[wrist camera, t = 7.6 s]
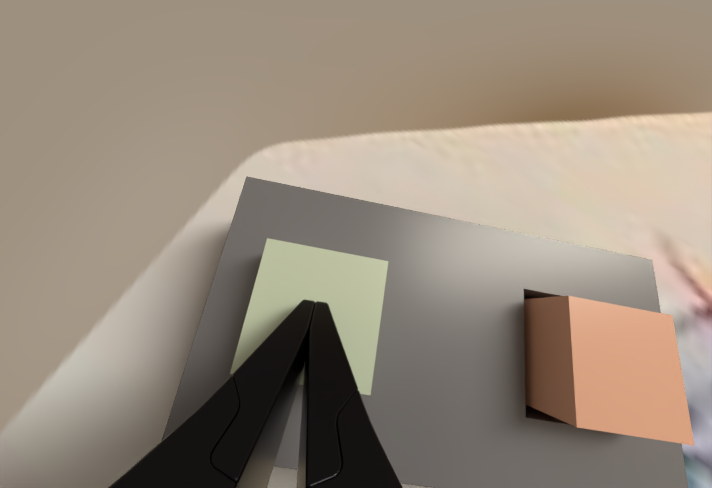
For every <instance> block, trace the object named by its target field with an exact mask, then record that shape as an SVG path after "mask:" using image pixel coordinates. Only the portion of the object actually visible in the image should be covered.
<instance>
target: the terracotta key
mask: <svg viewBox="0 0 712 488" xmlns="http://www.w3.org/2000/svg"><path fill="white" fill-rule="evenodd" d="M524 341H525V404H526V405H528V406H530V407H532V408H535V409H537V410H539V411H541V412H544V413H546V414H548V415H550V416H553V417H555V418H557V419H559V420H562V421H564V422H566V423H568V424H571V425H573V426H575V427H578V428H584V429H591V430H597V431H604V432H610V433H617V434H623V435H630V436H636V437H643V438H649V439H655V440H662V441H668V442H675V443H681V444H688V445H694V441H693V435H692V429H691V423H690V417H689V411H688V405H687V400H686V394H685V388H684V382H683V376H682V370H681V364H680V358H679V352H678V347H677V341H676V335H675V329H674V323H673V317H672V315H667V314H662V313H657V312H652V311H646V310H641V309H636V308H631V307H626V306H620V305H615V304H610V303H605V302H599V301H594V300H589V299H584V298H578V297H573V296H558V297H545V298H532V299H524Z"/></svg>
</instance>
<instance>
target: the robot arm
mask: <svg viewBox="0 0 712 488" xmlns="http://www.w3.org/2000/svg"><path fill="white" fill-rule="evenodd" d="M304 365H305V369H304ZM303 369H304V381H303V396H302V412H301V427H300V443H299V458H298V474H297V488H402V486H401V483H400V481H399V479H398V477H397V475H396V473H395V471H394V469H393V467H392V465H391V463H390V461H389V459H388V457H387V455H386V453H385V451H384V449H383V447H382V445H381V443H380V441H379V438H378V436H377V434H376V432H375V430H374V428H373V425H372V423H371V421H370V418H369V416H368V413H367V411H366V408H365V405H364V403H363V400H362V397H361V394H360V392H359V390H358V386H357V384H356V381H355V378H354V375H353V372H352V370H351V367H350V364H349V361H348V358H347V355H346V353H345V350H344V347H343V344H342V341H341V339H340V336H339V333H338V330H337V327H336V325H335V322H334V319H333V316H332V313H331V310H330V308H329V305H328V303H326V302H320V301H317V302H315V301H313V300H306V299H304V300H302V301H301V302H300V303H299V304H298V305H297V306H296V307H295V308H294V310H293V311H292V312H291V313H290V314H289V315H288V316H287V317H286V318H285V319H284V320H283V321H282V322H281V323H280V324H279V325H278V326H277V328H276V329H275V330H274V331H273V332H272V333H271V334H270V335H269V336H268V337H267V338H266V339H265V340H264V341H263V342H262V343H261V344H260V346H259V347H258V348H257V349H256V350H255V351H254V352H253V353H252V354H251V355H250V356H249V357H248V358H247V359H246V360H245V361H244V362H243V364H242V365H241V366H240V367H239V368H238V369H237V370H236V371H235V372H234V373H233V376H230V377H229V378H228V379H227V380H226V381H225V382H224V383H223V385H222V386H221V387H220V388H219V389H218V390H217V391H216V392H215V393H214V394H213V395H212V396H211V397H210V398H209V399H208V400H207V401H206V402H205V403H204V404H203V405H202V406H201V407H199V408H198V409H197V410H196V411H195V412H194V413H193V414H192V415H191V416H190V417H189V418H187V419H186V420H185V421H184V422H183V423H182V424H181V425H180V426H179V427H177V428H176V429H175V430H174V431H173V432H172V433H171V434H169V435H168V436H167V437H166V438H165V439H164V440H163V441H162V442H160V443H159V444H158V445H157V446H156V447H155V448H154V449H152V450H151V451H150V452H149V453H148V454H147V455H146V456H144V457H143V458H142V459H141V460H140V461H139V462H138V463H137V464H135V465H134V466H133V467H132V468H131V469H130V470H129V471H127V472H126V473H125V474H124V475H123V476H122V477H120V478H119V479H118V480H117V481H116V482H115V483H113V484H112V485H111V486H109V487H108V488H267V485H268V482H269V479H270V476H271V473H272V469H273V466H274V463H275V460H276V457H277V453H278V450H279V447H280V444H281V441H282V437H283V434H284V431H285V428H286V425H287V421H288V418H289V415H290V412H291V408H292V405H293V402H294V399H295V396H296V392H297V389H298V386H299V383H300V380H301V376H302V373H303Z"/></svg>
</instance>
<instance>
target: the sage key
mask: <svg viewBox="0 0 712 488" xmlns="http://www.w3.org/2000/svg"><path fill="white" fill-rule="evenodd" d="M387 269H388V261H384V260H379V259H374V258H368V257H363V256H358V255H353V254H348V253H342V252H337V251H332V250H327V249H321V248H316V247H311V246H306V245H300V244H295V243H290V242H285V241H279V240H274V239H269V238H267V241H266V245H265V248H264V252H263V255H262V259H261V263H260V266H259V270H258V274H257V277H256V281H255V285H254V288H253V292H252V295H251V299H250V303H249V306H248V310H247V314H246V317H245V321H244V324H243V328H242V332H241V335H240V339H239V343H238V346H237V350H236V353H235V357H234V361H233V364H232V368H231V372H230V374H233V373H234V372H235V371H236V370H237V369H238V368H239V367H240V366H241V365H242V364H243V362H244V361H245V360H246V359H247V358H248V357H249V356H250V355H251V354H252V353H253V352H254V351H255V350H256V349H257V348H258V347H259V346H260V344H261V343H262V342H263V341H264V340H265V339H266V338H267V337H268V336H269V335H270V334H271V333H272V332H273V331H274V330H275V329H276V328H277V326H278V325H279V324H280V323H281V322H282V321H283V320H284V319H285V318H286V317H287V316H288V315H289V314H290V313H291V312H292V311H293V310H294V308H295V307H296V306H297V305H298V304H299V303H300V302H301V301H302V300H304V299H306V300H313V301H315V302H317V301H320V302H326V303H328V305H329V308H330V310H331V313H332V316H333V319H334V322H335V325H336V327H337V330H338V333H339V336H340V339H341V341H342V344H343V347H344V350H345V353H346V355H347V358H348V361H349V364H350V367H351V370H352V372H353V375H354V378H355V381H356V384H357V386H358V390H359V392H360V394H365V395H371V388H372V380H373V373H374V365H375V358H376V350H377V343H378V336H379V328H380V321H381V313H382V306H383V298H384V291H385V284H386V276H387ZM304 369H305V365H304ZM304 369H303V373H302V376H301V380H300V383H299V384H300V385H303V381H304Z"/></svg>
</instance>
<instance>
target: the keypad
mask: <svg viewBox="0 0 712 488" xmlns="http://www.w3.org/2000/svg"><path fill="white" fill-rule="evenodd" d="M267 238H269V239H274V240H279V241H285V242H290V243H295V244H300V245H306V246H311V247H316V248H321V249H327V250H332V251H337V252H342V253H348V254H353V255H358V256H363V257H368V258H374V259H379V260H384V261H388V269H387V276H386V284H385V291H384V298H383V306H382V313H381V321H380V328H379V336H378V343H377V350H376V358H375V365H374V373H373V380H372V388H371V395H365V394H361V397H362V400H363V403H364V405H365V408H366V411H367V413H368V416H369V418H370V421H371V423H372V425H373V428H374V430H375V432H376V434H377V436H378V438H379V441H380V443H381V445H382V447H383V449H384V451H385V453H386V455H387V457H388V459H389V461H390V463H391V465H392V467H393V469H394V471H395V473H396V475H397V477H398V479H399V481H400V483H403V484H411V485H418V486H426V487H433V488H688V483H687V476H686V470H685V464H684V457H683V451H682V445H681V443H675V442H668V441H662V440H655V439H649V438H643V437H636V436H630V435H623V434H617V433H610V432H604V431H597V430H591V429H584V428H578V427H575V426H573V425H571V424H568V423H566V422H564V421H562V420H559V419H557V418H555V417H553V416H550V415H548V414H546V413H544V412H541V411H539V410H537V409H535V408H532V407H530V406H528V405H526V404H525V341H524V299H532V298H545V297H558V296H573V297H578V298H584V299H589V300H594V301H599V302H605V303H610V304H615V305H620V306H626V307H631V308H636V309H641V310H646V311H652V312H657V313H661V312H660V306H659V299H658V293H657V287H656V280H655V274H654V268H653V261H652V260H651V259H646V258H641V257H636V256H631V255H627V254H622V253H617V252H612V251H607V250H602V249H597V248H592V247H588V246H583V245H578V244H573V243H568V242H563V241H558V240H553V239H549V238H544V237H539V236H534V235H529V234H524V233H519V232H514V231H510V230H505V229H500V228H495V227H490V226H485V225H480V224H475V223H471V222H466V221H461V220H456V219H451V218H446V217H441V216H437V215H432V214H427V213H422V212H417V211H412V210H407V209H402V208H398V207H393V206H388V205H383V204H378V203H373V202H368V201H363V200H359V199H354V198H349V197H344V196H339V195H334V194H329V193H324V192H320V191H315V190H310V189H305V188H300V187H295V186H290V185H286V184H281V183H276V182H271V181H266V180H261V179H256V178H251V177H246V180H245V183H244V186H243V189H242V192H241V195H240V199H239V202H238V205H237V208H236V211H235V214H234V217H233V220H232V223H231V227H230V230H229V233H228V236H227V239H226V242H225V245H224V248H223V251H222V254H221V258H220V261H219V264H218V267H217V270H216V273H215V276H214V279H213V282H212V286H211V289H210V292H209V295H208V298H207V301H206V304H205V307H204V310H203V314H202V317H201V320H200V323H199V326H198V329H197V332H196V335H195V338H194V341H193V345H192V348H191V351H190V354H189V357H188V360H187V363H186V366H185V369H184V373H183V376H182V379H181V382H180V385H179V388H178V391H177V394H176V397H175V400H174V404H173V407H172V410H171V413H170V416H169V419H168V422H167V425H166V428H165V432H164V435H163V438H162V441H163V440H164V439H165V438H166V437H167V436H168V435H169V434H171V433H172V432H173V431H174V430H175V429H176V428H177V427H179V426H180V425H181V424H182V423H183V422H184V421H185V420H186V419H187V418H189V417H190V416H191V415H192V414H193V413H194V412H195V411H196V410H197V409H198V408H199V407H201V406H202V405H203V404H204V403H205V402H206V401H207V400H208V399H209V398H210V397H211V396H212V395H213V394H214V393H215V392H216V391H217V390H218V389H219V388H220V387H221V386H222V385H223V383H224V382H225V381H226V380H227V379H228V378H229V377H230V376H233V374H230V372H231V368H232V364H233V361H234V357H235V353H236V350H237V346H238V343H239V339H240V335H241V332H242V328H243V324H244V321H245V317H246V314H247V310H248V306H249V303H250V299H251V295H252V292H253V288H254V285H255V281H256V277H257V274H258V270H259V266H260V263H261V259H262V255H263V252H264V248H265V245H266V241H267ZM302 396H303V385H300V384H299V386H298V389H297V392H296V396H295V399H294V402H293V405H292V408H291V412H290V415H289V418H288V421H287V425H286V428H285V431H284V434H283V437H282V441H281V444H280V447H279V450H278V453H277V457H276V460H275V463H274V466H275V467H283V468H290V469H298V458H299V443H300V427H301V412H302ZM162 441H161V442H162Z"/></svg>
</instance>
